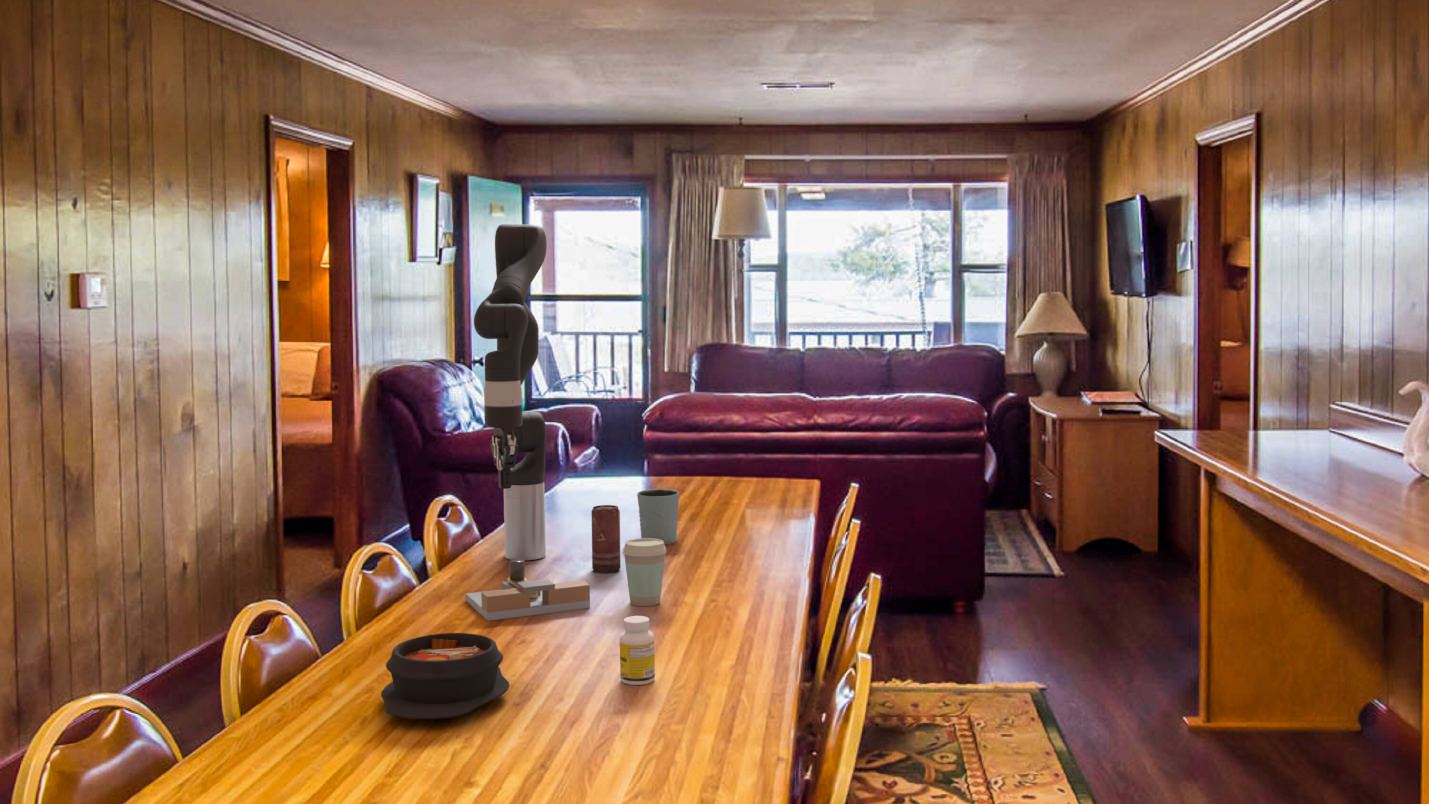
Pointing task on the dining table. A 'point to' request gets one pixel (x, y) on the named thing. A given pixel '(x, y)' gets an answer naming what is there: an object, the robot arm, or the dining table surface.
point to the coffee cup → (644, 570)
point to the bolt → (518, 575)
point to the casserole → (443, 676)
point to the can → (605, 539)
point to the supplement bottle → (637, 652)
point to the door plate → (530, 599)
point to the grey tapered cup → (659, 514)
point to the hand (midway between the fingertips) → (505, 487)
